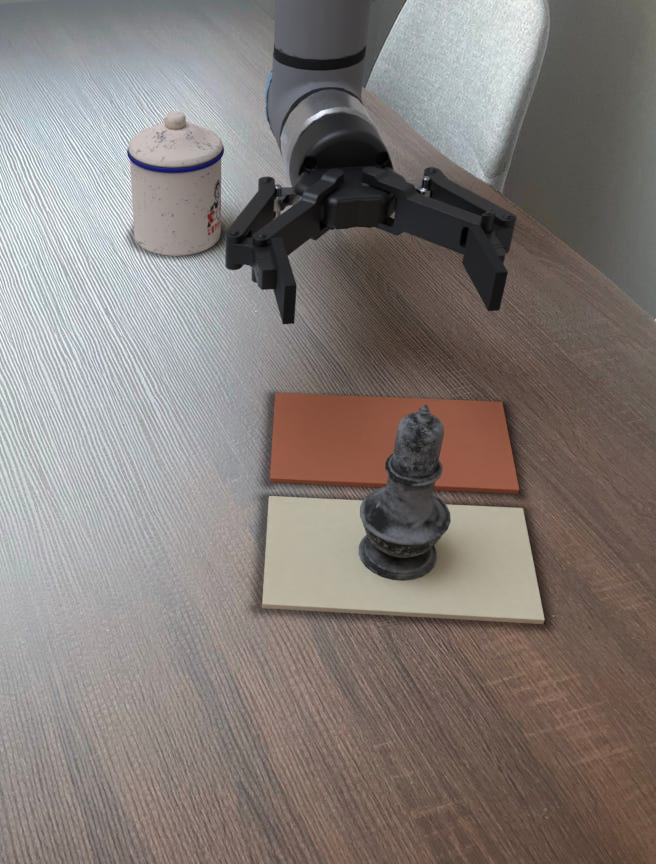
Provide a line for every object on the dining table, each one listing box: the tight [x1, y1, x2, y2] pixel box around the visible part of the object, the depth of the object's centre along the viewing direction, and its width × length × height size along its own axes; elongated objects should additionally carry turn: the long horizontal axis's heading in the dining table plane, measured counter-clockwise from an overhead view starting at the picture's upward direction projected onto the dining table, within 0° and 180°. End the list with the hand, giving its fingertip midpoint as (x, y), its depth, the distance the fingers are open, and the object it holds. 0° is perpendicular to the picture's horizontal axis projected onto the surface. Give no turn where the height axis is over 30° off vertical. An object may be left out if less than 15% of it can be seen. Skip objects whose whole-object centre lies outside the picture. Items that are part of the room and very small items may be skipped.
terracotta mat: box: [269, 392, 520, 495], centre depth 79 cm, size 18×11×1 cm, turn 84°
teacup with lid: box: [126, 110, 225, 257], centre depth 99 cm, size 12×9×12 cm
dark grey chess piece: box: [359, 404, 451, 581], centre depth 65 cm, size 6×6×12 cm
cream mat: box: [261, 495, 546, 625], centre depth 70 cm, size 18×11×1 cm, turn 84°
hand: (394, 298), depth 66 cm, fingers open, 13 cm apart
